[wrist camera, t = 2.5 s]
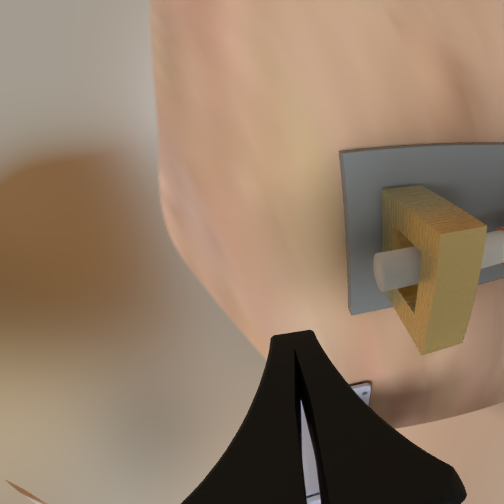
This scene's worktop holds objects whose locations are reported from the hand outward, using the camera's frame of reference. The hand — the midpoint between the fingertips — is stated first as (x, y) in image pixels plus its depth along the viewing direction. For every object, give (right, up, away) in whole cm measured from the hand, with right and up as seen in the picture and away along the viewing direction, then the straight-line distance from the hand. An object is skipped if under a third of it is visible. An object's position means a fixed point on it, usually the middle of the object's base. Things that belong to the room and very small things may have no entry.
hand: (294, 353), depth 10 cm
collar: (+7, +4, +6) cm, 10 cm away
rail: (+11, +5, +7) cm, 14 cm away
